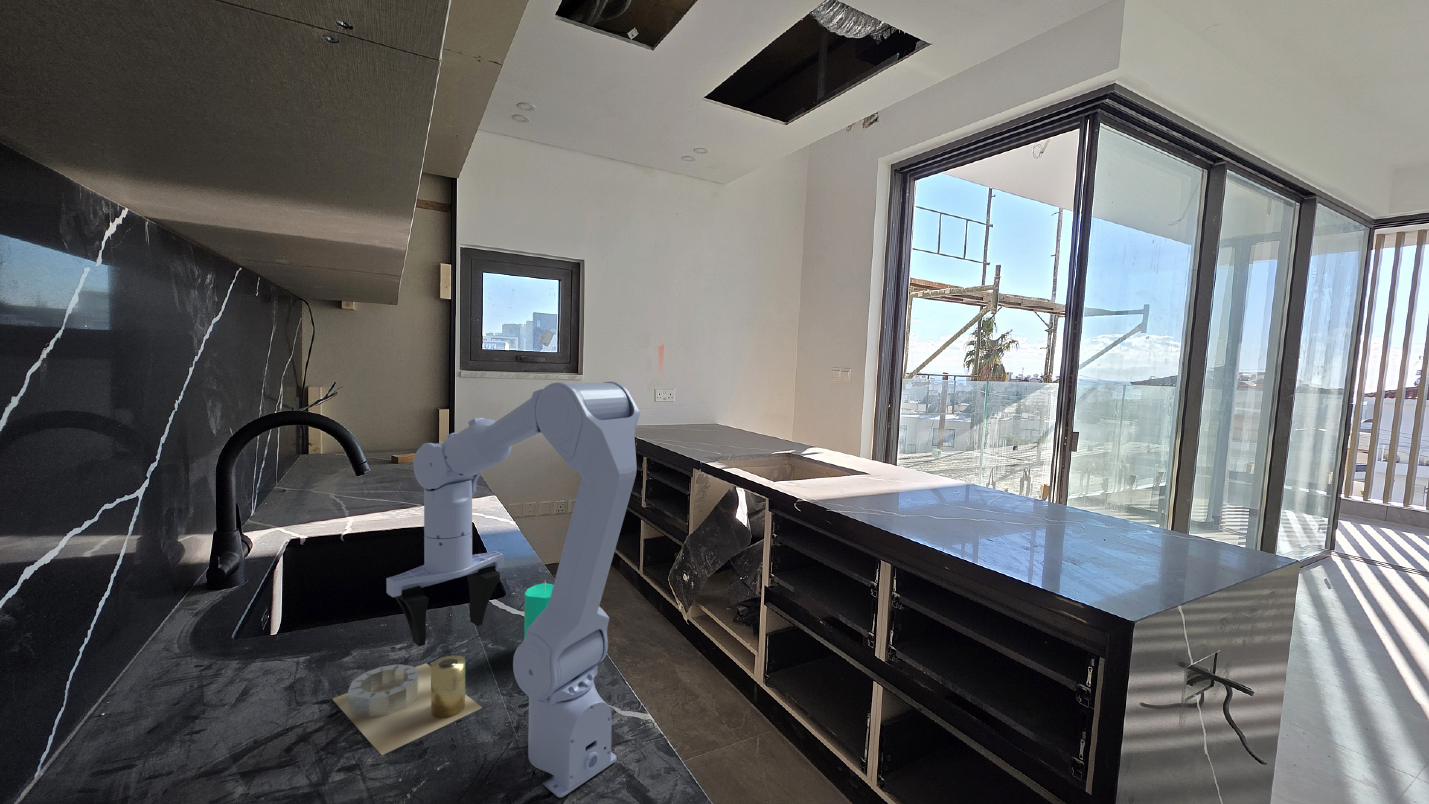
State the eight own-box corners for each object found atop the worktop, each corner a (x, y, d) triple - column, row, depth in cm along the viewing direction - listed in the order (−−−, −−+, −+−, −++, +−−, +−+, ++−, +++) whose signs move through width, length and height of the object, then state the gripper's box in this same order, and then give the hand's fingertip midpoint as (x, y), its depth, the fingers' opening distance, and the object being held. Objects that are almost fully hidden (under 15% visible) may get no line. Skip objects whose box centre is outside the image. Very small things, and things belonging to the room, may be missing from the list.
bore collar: (428, 697, 75) (428, 679, 75) (363, 725, 69) (363, 706, 69) (403, 675, 80) (403, 658, 80) (340, 700, 74) (340, 681, 74)
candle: (552, 668, 85) (553, 590, 84) (516, 662, 86) (517, 585, 86) (570, 648, 91) (571, 575, 90) (536, 643, 92) (537, 571, 91)
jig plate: (482, 715, 74) (482, 707, 73) (381, 763, 64) (381, 755, 64) (426, 669, 84) (426, 663, 84) (332, 706, 74) (332, 698, 74)
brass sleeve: (471, 707, 73) (471, 662, 73) (439, 722, 70) (440, 675, 70) (455, 695, 76) (456, 651, 75) (425, 709, 73) (425, 663, 72)
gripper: (485, 516, 83) (485, 607, 84) (376, 537, 72) (377, 642, 73) (511, 526, 78) (510, 621, 79) (399, 550, 67) (400, 661, 68)
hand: (448, 632), depth 76 cm, fingers open, 7 cm apart
